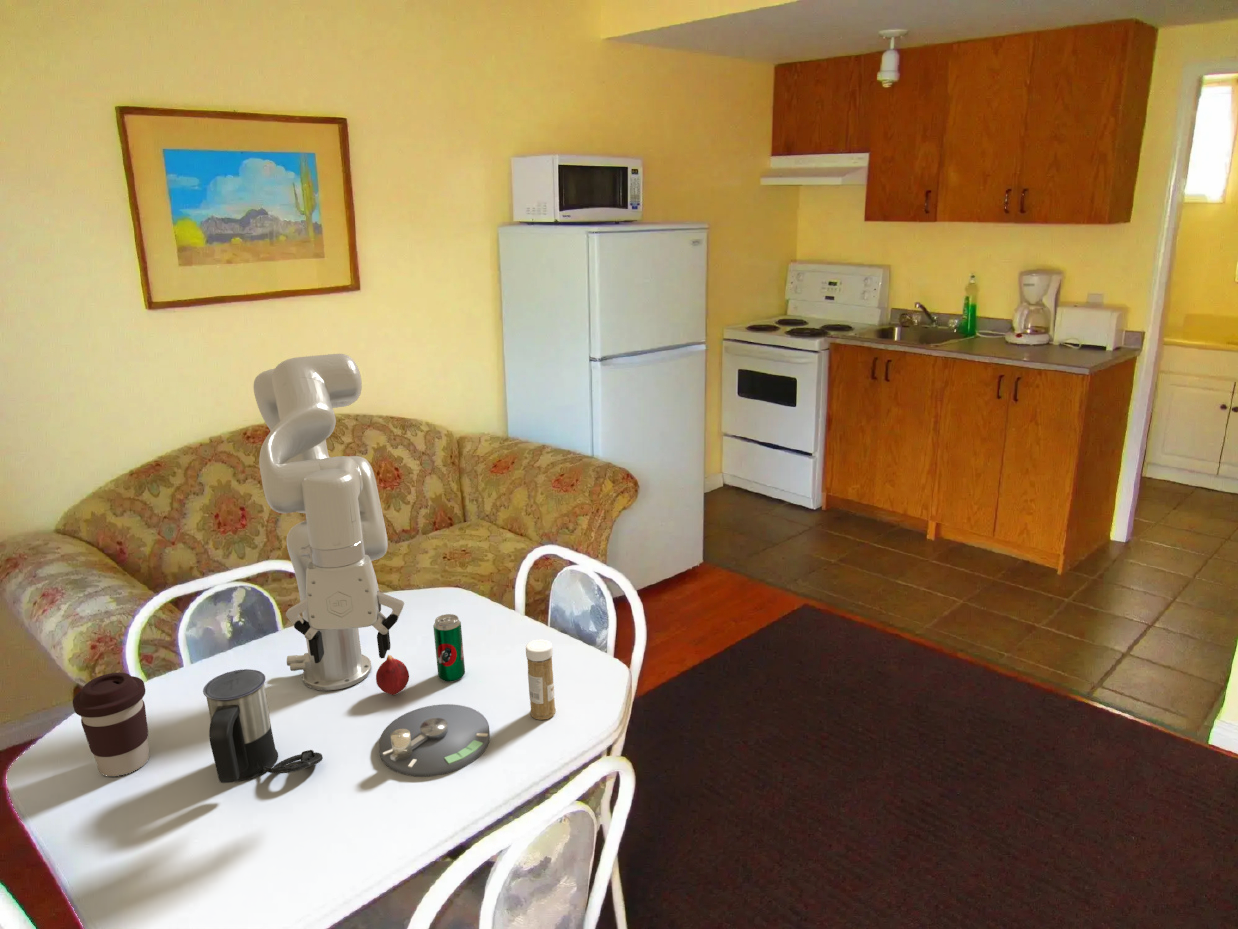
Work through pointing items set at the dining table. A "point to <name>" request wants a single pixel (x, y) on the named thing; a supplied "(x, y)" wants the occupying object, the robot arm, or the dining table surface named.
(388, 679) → the onion
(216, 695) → the milk frother
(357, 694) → the dining table surface
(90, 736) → the coffee cup
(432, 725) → the needle
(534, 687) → the spice jar
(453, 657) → the soda can
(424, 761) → the dial
